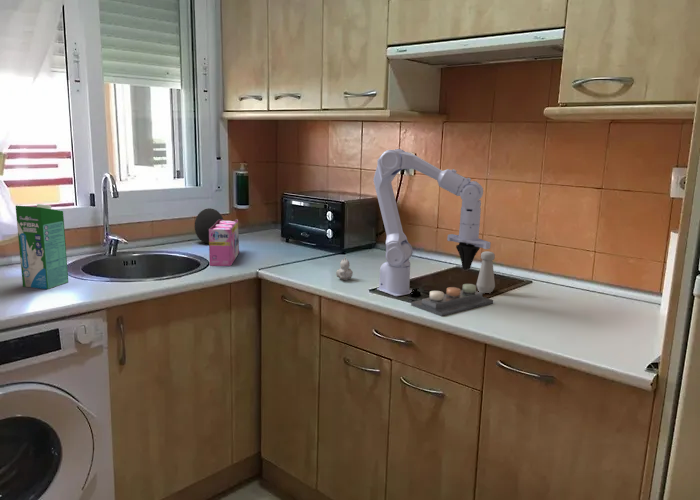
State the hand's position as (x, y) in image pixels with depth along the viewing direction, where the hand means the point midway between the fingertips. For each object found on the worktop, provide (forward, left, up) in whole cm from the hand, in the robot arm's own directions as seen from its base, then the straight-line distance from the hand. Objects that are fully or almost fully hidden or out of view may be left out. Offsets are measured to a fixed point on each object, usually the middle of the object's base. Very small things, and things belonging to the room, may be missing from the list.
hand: (466, 268), depth 174 cm
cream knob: (+1, -13, -9) cm, 16 cm away
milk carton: (-84, -98, -10) cm, 129 cm away
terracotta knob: (+1, -6, -9) cm, 11 cm away
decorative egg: (-118, -28, -10) cm, 121 cm away
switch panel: (+1, -6, -10) cm, 12 cm away
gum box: (-87, -36, -10) cm, 95 cm away
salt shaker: (-3, +13, -10) cm, 17 cm away
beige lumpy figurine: (-39, -16, -10) cm, 43 cm away
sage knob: (+1, +1, -9) cm, 10 cm away
